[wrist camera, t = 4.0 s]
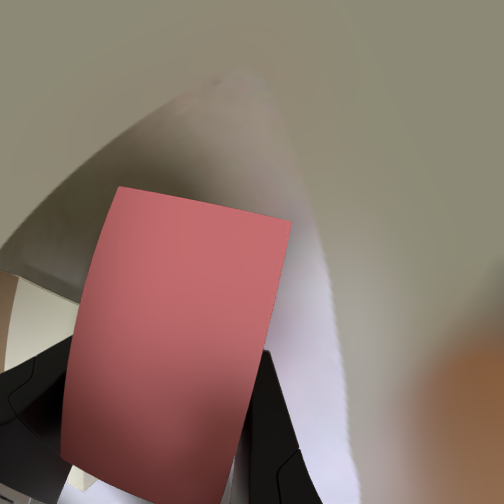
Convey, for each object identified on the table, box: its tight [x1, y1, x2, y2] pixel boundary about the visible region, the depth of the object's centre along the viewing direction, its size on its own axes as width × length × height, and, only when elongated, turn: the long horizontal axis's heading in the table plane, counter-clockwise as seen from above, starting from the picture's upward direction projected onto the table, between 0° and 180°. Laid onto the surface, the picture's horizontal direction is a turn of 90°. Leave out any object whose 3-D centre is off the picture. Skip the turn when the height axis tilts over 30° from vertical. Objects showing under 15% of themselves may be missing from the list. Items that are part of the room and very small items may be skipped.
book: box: [61, 186, 292, 504], centre depth 10 cm, size 7×4×10 cm, turn 166°
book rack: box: [0, 270, 98, 492], centre depth 10 cm, size 10×10×9 cm
